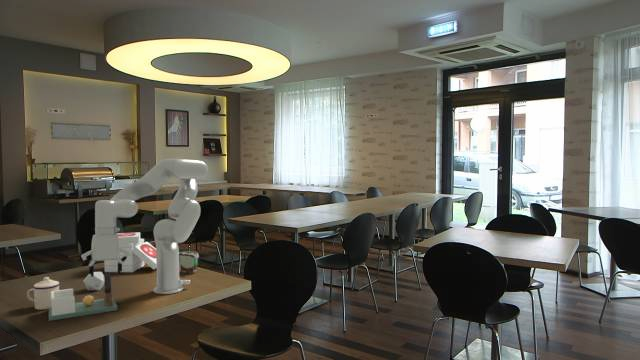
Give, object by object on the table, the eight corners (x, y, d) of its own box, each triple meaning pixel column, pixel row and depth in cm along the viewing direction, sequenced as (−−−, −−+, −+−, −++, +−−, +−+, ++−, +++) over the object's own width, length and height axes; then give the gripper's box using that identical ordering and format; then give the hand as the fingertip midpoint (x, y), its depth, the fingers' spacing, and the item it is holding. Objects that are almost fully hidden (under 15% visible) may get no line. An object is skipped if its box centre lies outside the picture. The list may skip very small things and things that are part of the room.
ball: (93, 303, 185) (93, 293, 184) (94, 306, 181) (94, 296, 181) (82, 305, 183) (82, 295, 182) (83, 307, 179) (82, 297, 179)
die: (91, 294, 204) (105, 275, 206) (76, 284, 205) (90, 265, 208) (99, 296, 211) (113, 277, 214) (84, 286, 213) (98, 268, 215)
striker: (110, 298, 190) (109, 271, 190) (113, 304, 182) (112, 276, 181) (103, 299, 189) (102, 272, 189) (106, 305, 180) (105, 277, 180)
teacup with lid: (64, 302, 191) (63, 274, 190) (53, 309, 182) (52, 280, 181) (34, 303, 190) (33, 275, 190) (21, 310, 181) (20, 281, 180)
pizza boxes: (155, 273, 239) (155, 238, 238) (98, 272, 240) (97, 238, 239) (169, 264, 258) (168, 232, 257) (116, 264, 259) (115, 232, 259)
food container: (204, 271, 241) (204, 252, 241) (195, 274, 236) (195, 254, 236) (187, 268, 248) (187, 250, 247) (178, 271, 243) (178, 252, 242)
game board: (113, 300, 192) (112, 283, 192) (117, 310, 181) (116, 291, 180) (48, 310, 181) (48, 291, 181) (48, 320, 169) (48, 300, 169)
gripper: (127, 229, 191) (127, 270, 192) (80, 231, 183) (80, 274, 183) (130, 231, 185) (130, 274, 185) (81, 233, 176) (81, 279, 177)
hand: (105, 274), depth 184 cm, fingers open, 9 cm apart
